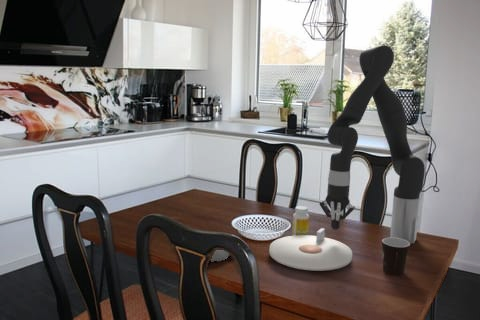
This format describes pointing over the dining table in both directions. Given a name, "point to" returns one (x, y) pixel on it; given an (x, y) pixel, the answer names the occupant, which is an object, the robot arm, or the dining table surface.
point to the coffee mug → (394, 255)
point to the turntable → (311, 252)
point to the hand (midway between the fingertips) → (335, 229)
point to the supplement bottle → (300, 221)
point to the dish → (219, 255)
